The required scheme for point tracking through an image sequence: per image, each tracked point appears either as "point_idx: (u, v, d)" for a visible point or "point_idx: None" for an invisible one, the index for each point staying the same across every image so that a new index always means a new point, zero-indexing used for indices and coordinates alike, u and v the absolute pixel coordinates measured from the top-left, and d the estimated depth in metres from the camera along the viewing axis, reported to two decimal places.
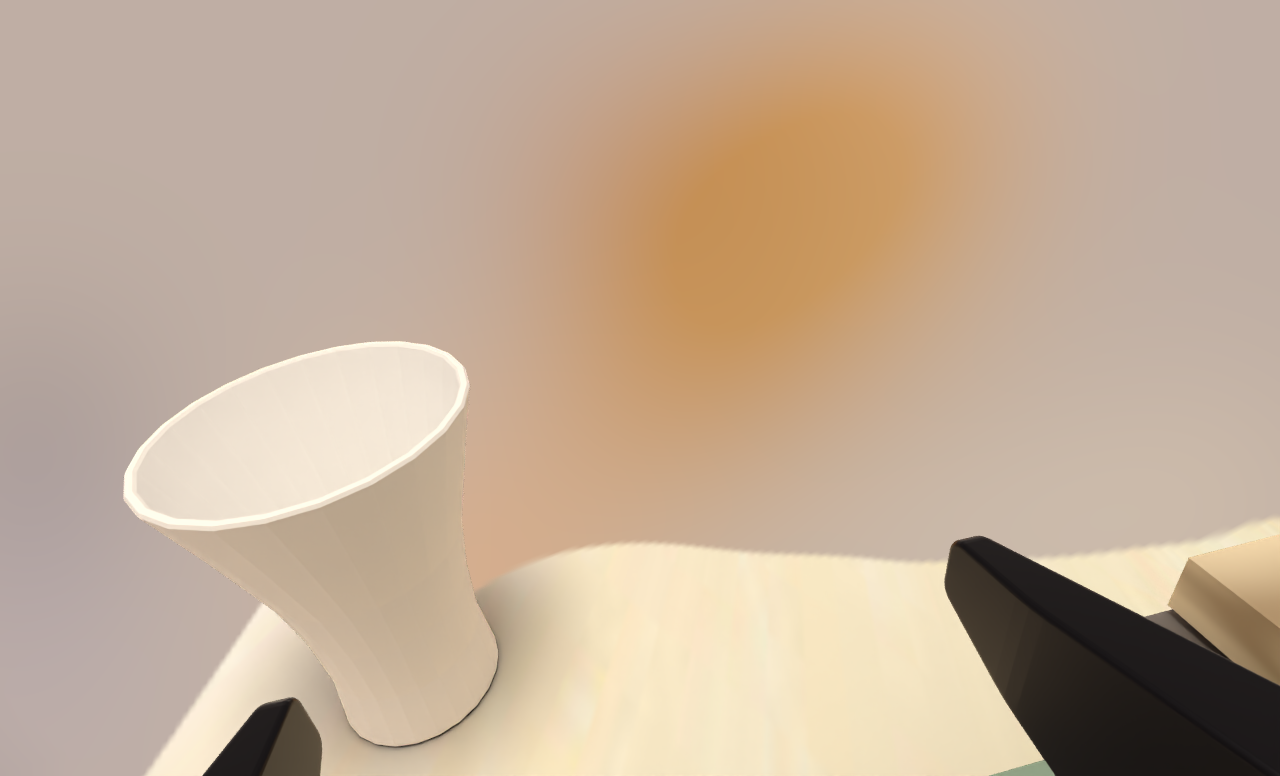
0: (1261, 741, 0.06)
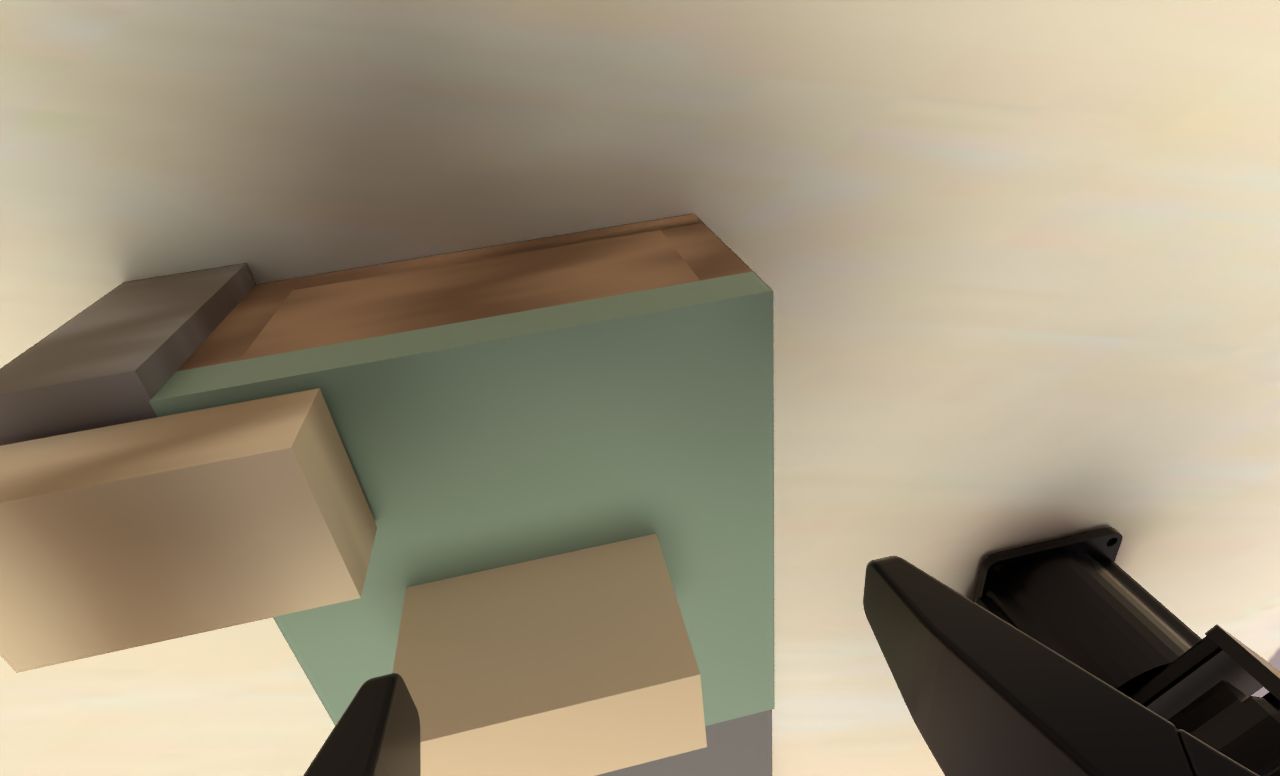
0: None
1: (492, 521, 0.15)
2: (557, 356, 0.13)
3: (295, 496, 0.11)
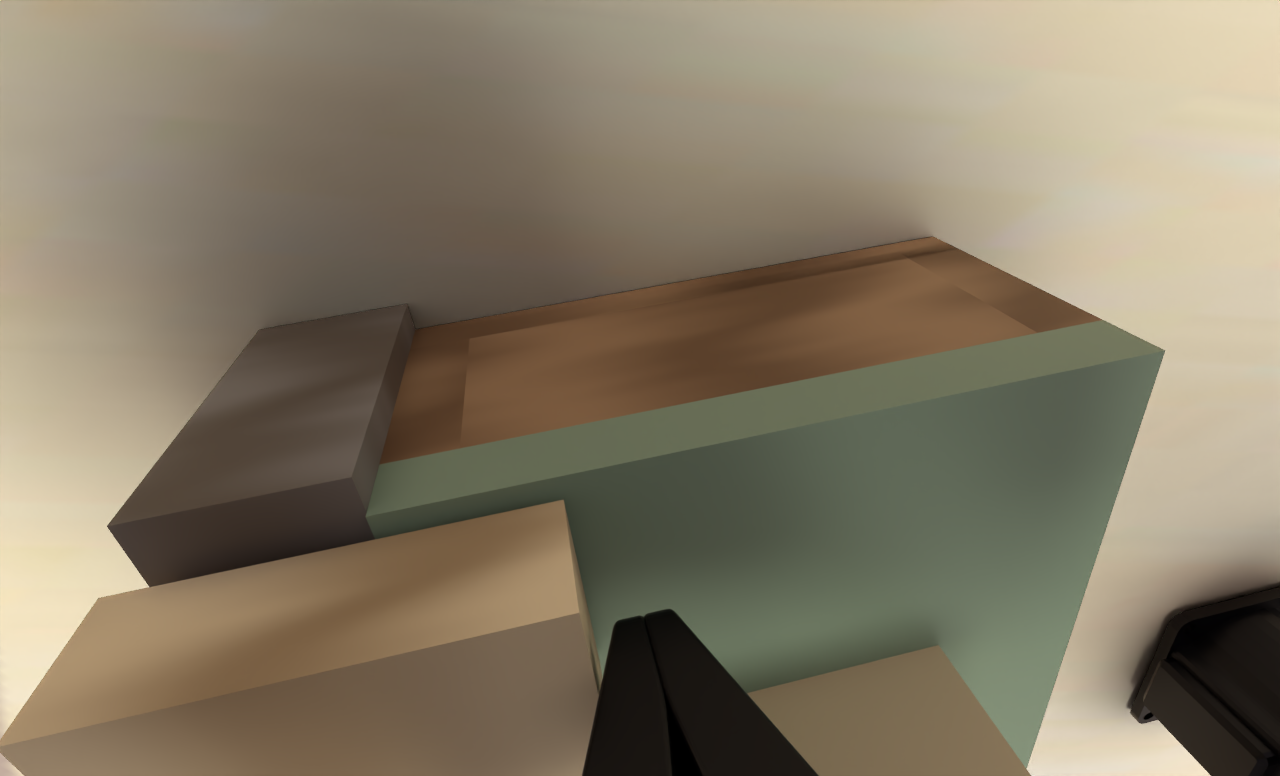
0: None
1: (754, 641, 0.12)
2: (884, 440, 0.10)
3: (568, 673, 0.08)
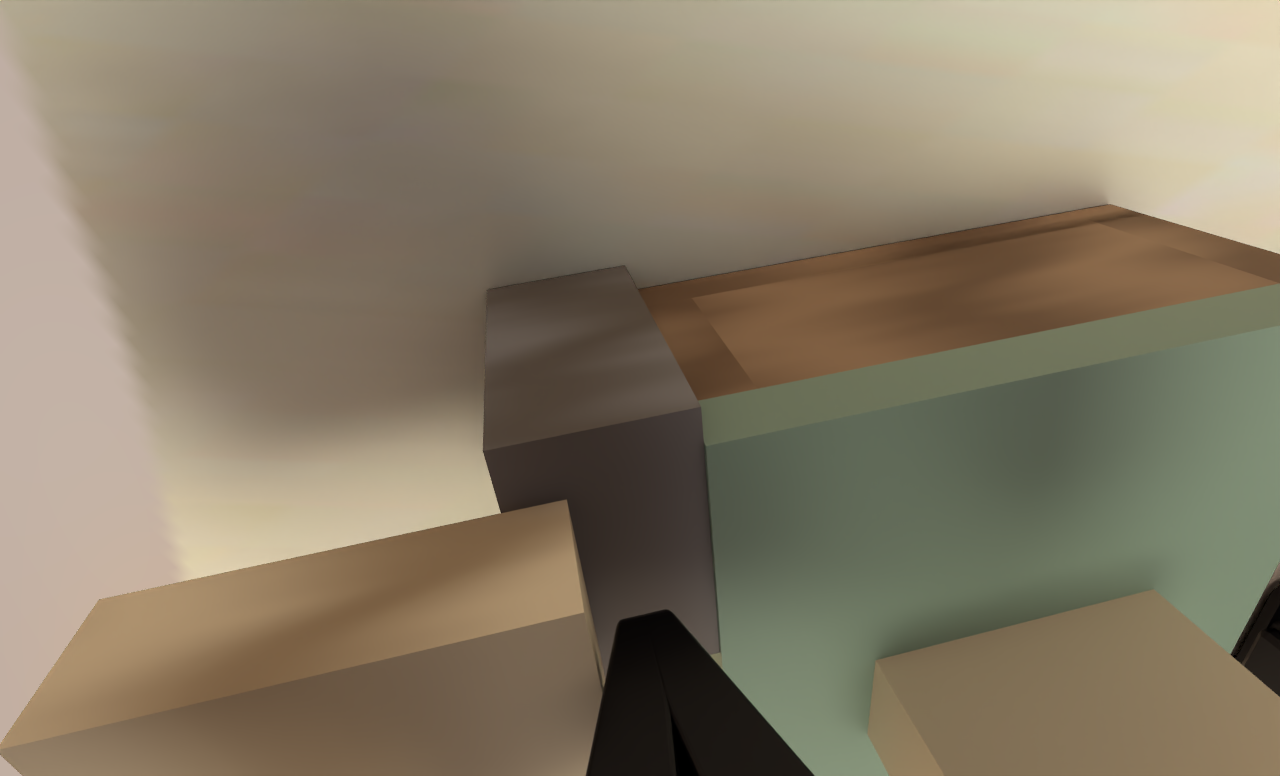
0: None
1: (998, 581, 0.12)
2: (1161, 380, 0.10)
3: (572, 673, 0.08)
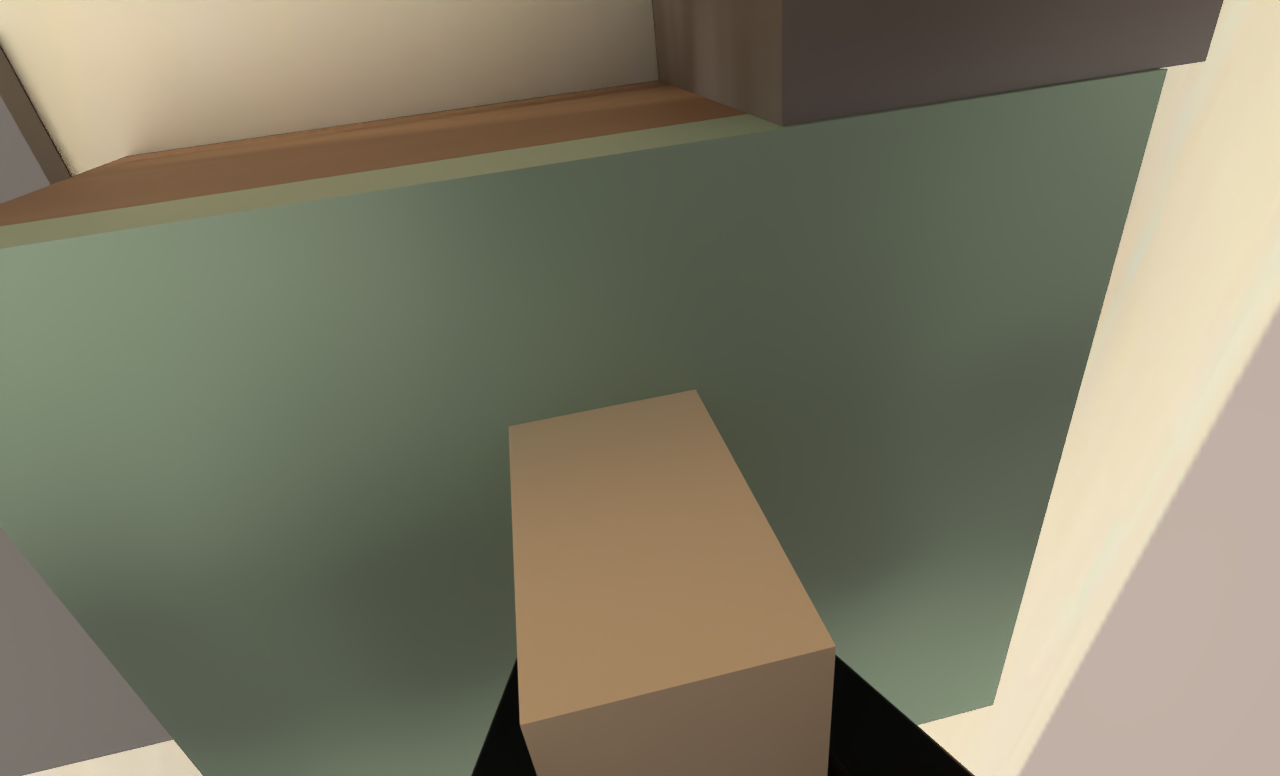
0: None
1: (796, 504, 0.10)
2: (1006, 552, 0.11)
3: None
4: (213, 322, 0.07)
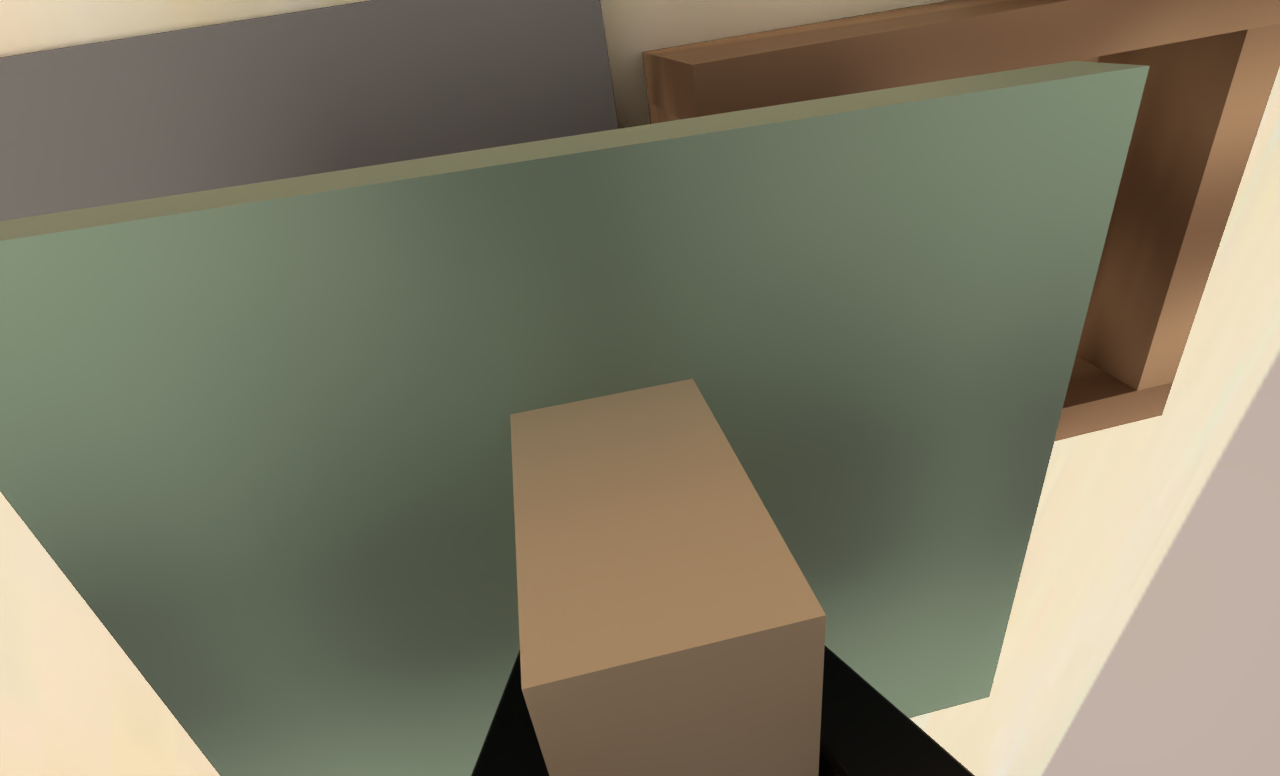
0: None
1: (792, 493, 0.10)
2: (1000, 542, 0.11)
3: None
4: (224, 310, 0.07)
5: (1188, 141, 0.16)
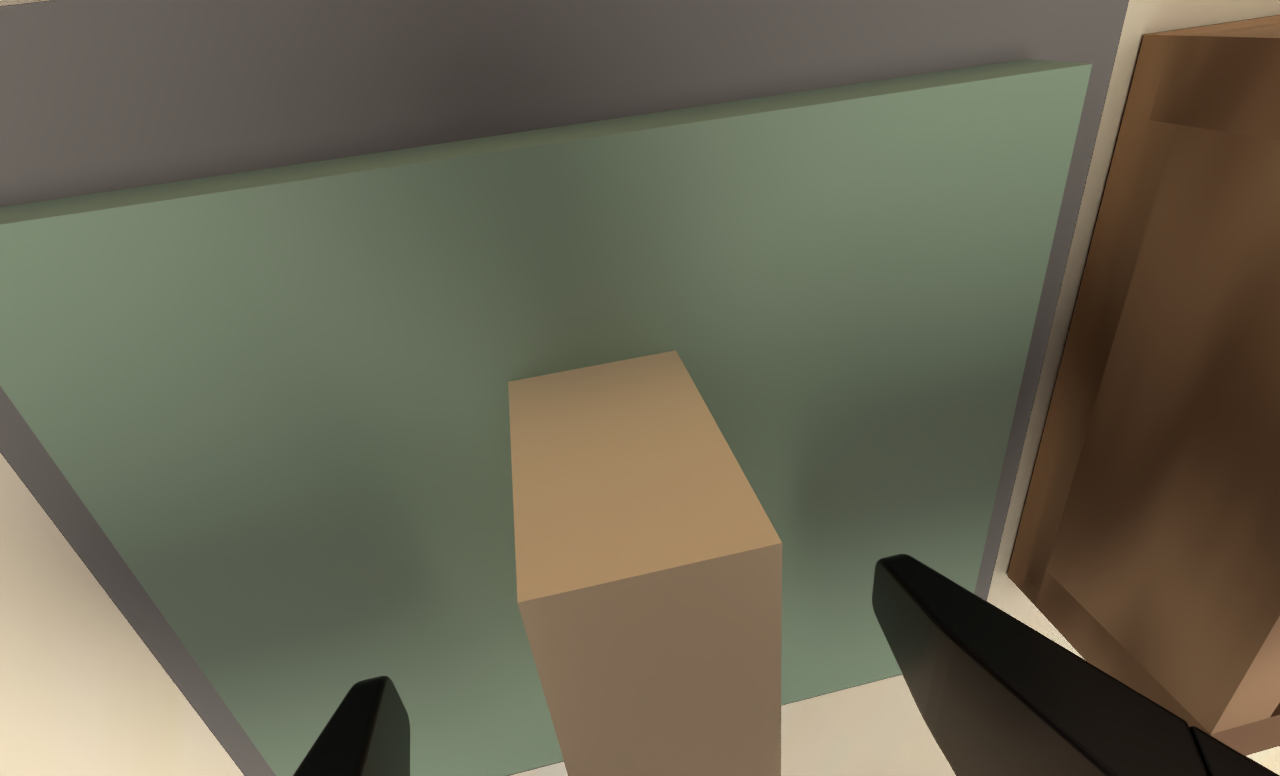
0: (1146, 774, 0.06)
1: (769, 460, 0.11)
2: (966, 510, 0.12)
3: None
4: (249, 282, 0.08)
5: None
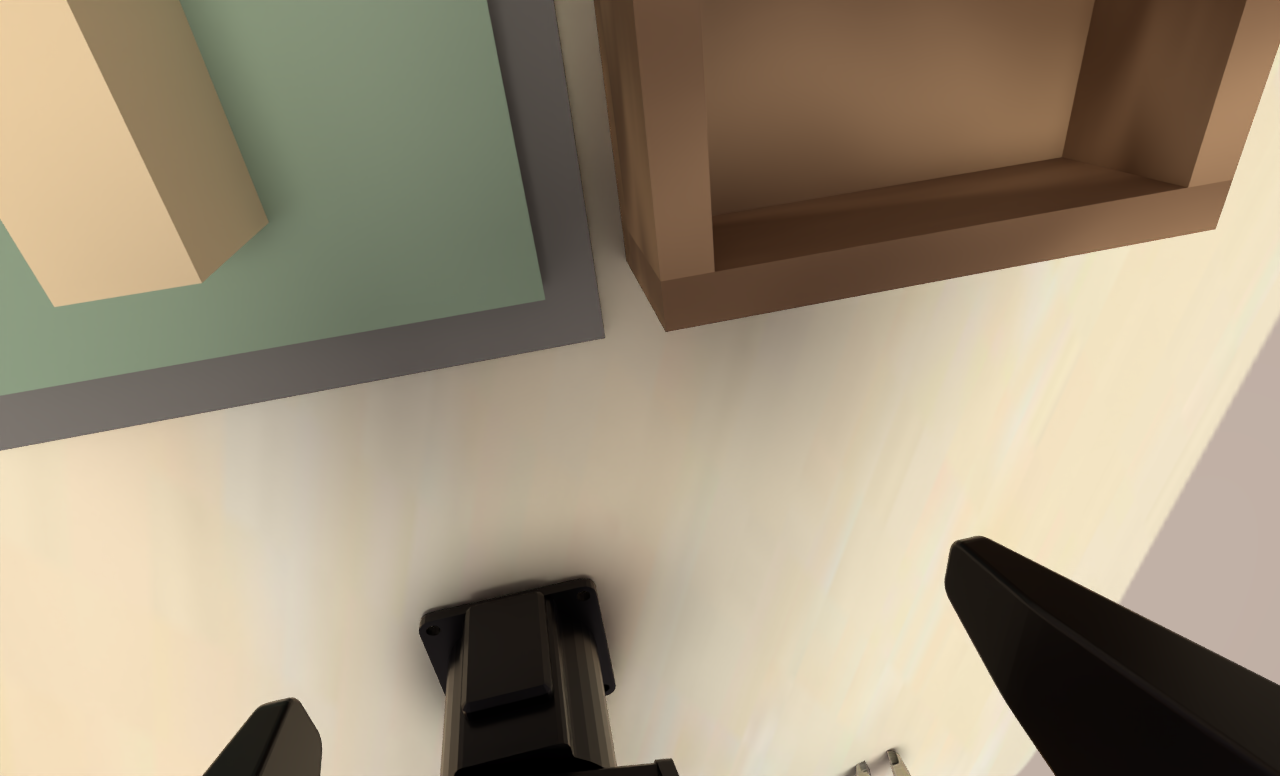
0: (1260, 741, 0.06)
1: (268, 31, 0.13)
2: (483, 117, 0.15)
3: None
4: None
5: None
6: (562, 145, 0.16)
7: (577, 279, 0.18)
